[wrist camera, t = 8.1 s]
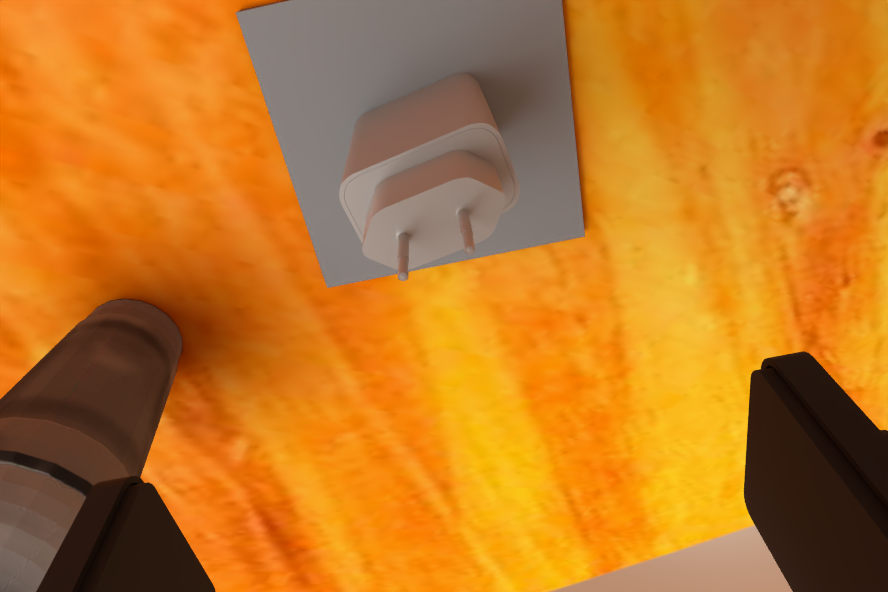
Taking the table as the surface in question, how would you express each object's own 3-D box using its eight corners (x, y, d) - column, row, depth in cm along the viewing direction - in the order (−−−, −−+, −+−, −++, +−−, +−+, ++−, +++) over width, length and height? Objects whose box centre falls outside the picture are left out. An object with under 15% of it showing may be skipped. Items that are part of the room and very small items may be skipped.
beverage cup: (107, 412, 34) (-197, 923, 17) (22, 297, 31) (-473, 797, 13) (237, 376, 33) (57, 871, 16) (166, 254, 30) (-162, 722, 13)
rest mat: (239, 10, 25) (235, 12, 24) (553, -60, 24) (556, -60, 24) (328, 281, 31) (327, 287, 30) (581, 230, 30) (584, 236, 30)
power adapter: (499, 138, 27) (557, 275, 17) (380, 187, 28) (366, 347, 18) (472, 66, 26) (517, 169, 15) (347, 120, 27) (310, 253, 16)
